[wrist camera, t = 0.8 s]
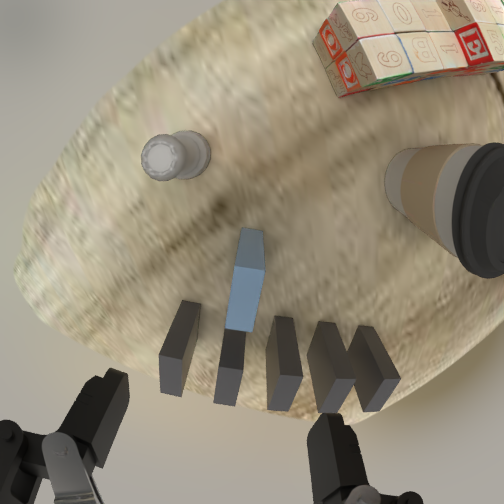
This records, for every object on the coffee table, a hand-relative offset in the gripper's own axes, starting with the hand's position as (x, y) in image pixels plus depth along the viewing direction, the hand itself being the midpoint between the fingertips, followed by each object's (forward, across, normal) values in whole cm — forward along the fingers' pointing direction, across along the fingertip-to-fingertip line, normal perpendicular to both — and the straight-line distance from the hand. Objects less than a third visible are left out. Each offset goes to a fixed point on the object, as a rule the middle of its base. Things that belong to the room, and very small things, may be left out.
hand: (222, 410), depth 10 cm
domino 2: (+19, -1, +9) cm, 21 cm away
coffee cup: (+19, -15, -11) cm, 26 cm away
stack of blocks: (+19, -12, -25) cm, 33 cm away
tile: (+19, 0, 0) cm, 19 cm away
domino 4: (+19, -11, +9) cm, 23 cm away
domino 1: (+19, +4, +10) cm, 21 cm away
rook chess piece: (+19, +7, -8) cm, 22 cm away
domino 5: (+19, -16, +8) cm, 26 cm away
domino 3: (+19, -6, +9) cm, 22 cm away
